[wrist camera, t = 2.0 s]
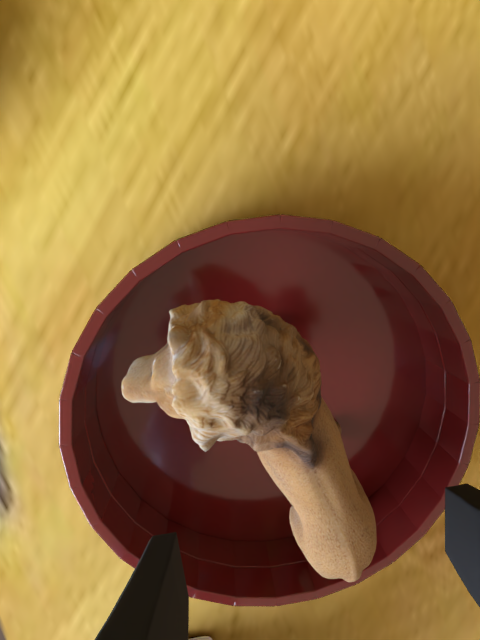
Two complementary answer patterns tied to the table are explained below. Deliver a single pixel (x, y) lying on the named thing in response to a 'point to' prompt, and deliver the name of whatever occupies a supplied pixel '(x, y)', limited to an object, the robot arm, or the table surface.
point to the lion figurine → (264, 419)
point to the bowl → (239, 458)
